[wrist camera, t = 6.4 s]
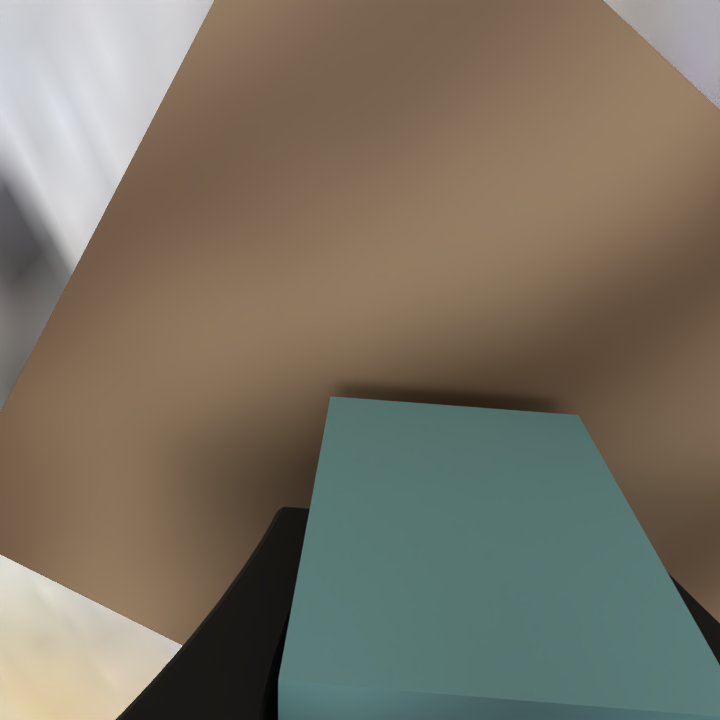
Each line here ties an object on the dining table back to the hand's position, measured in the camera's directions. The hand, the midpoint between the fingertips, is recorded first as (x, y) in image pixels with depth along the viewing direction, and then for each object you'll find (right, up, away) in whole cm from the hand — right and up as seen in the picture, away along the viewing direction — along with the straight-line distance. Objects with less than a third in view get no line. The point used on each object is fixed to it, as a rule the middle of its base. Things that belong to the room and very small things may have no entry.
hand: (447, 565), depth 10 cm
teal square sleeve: (0, +1, +1) cm, 2 cm away
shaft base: (0, +2, +3) cm, 4 cm away
